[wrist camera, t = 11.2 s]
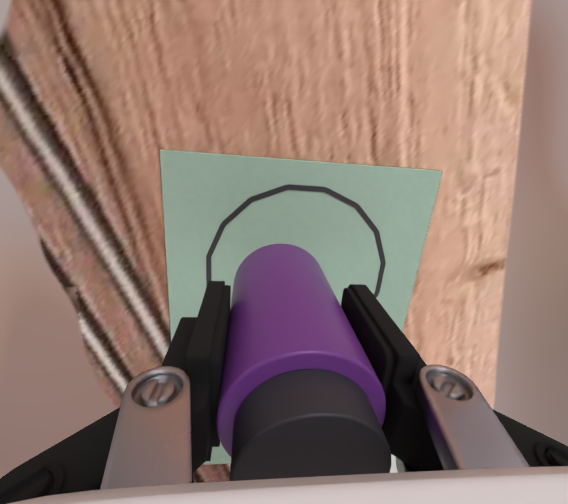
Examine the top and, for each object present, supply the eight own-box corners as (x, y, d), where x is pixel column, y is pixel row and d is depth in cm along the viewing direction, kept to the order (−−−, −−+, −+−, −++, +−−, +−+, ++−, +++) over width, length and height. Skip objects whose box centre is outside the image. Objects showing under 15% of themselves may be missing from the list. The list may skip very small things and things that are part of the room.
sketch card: (161, 149, 16) (158, 149, 16) (439, 170, 18) (443, 171, 18) (179, 461, 25) (178, 466, 24) (369, 453, 27) (370, 458, 26)
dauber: (218, 290, 14) (169, 509, 6) (265, 220, 13) (286, 363, 5) (288, 327, 15) (332, 555, 7) (336, 264, 14) (453, 444, 6)
